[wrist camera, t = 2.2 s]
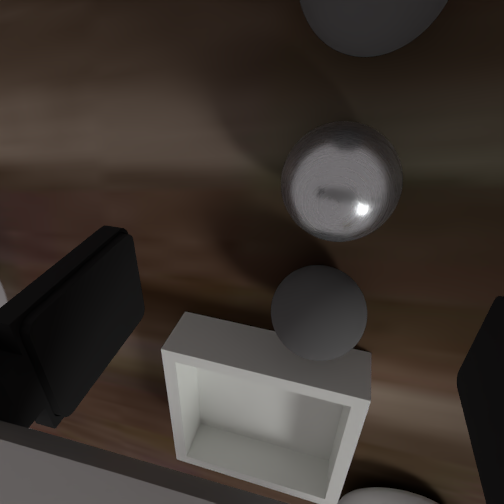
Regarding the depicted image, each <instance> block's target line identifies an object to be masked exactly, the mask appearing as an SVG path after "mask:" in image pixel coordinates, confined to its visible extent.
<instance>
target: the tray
mask: <svg viewBox="0 0 504 504" xmlns="http://www.w3.org/2000/svg"><path fill="white" fill-rule="evenodd" d="M161 353H162V360H163V367H164V374H165V381H166V388H167V395H168V402H169V408H170V415H171V422H172V429H173V436H174V443H175V450H176V457H177V459H178V460H181V461H184V462H187V463H191V464H194V465H197V466H200V467H203V468H207V469H210V470H213V471H216V472H219V473H222V474H226V475H229V476H232V477H235V478H238V479H241V480H245V481H248V482H251V483H254V484H257V485H261V486H264V487H267V488H270V489H273V490H276V491H280V492H283V493H286V494H289V495H292V496H296V497H299V498H302V499H305V500H308V501H311V502H315V503H318V504H337V503H338V500H339V497H340V494H341V491H342V488H343V485H344V482H345V479H346V476H347V473H348V470H349V467H350V464H351V461H352V457H353V454H354V451H355V448H356V445H357V442H358V439H359V436H360V433H361V430H362V427H363V424H364V421H365V418H366V414H367V411H368V408H369V405H370V402H371V353H370V352H366V351H361V350H357V349H351V350H350V351H349V352H347V353H346V354H344V355H343V356H341V357H338V358H335V359H332V360H327V361H314V360H309V359H305V358H302V357H300V356H298V355H296V354H294V353H293V352H291V351H290V350H289V349H288V348H287V347H286V346H285V345H284V344H283V343H282V342H281V341H280V339H279V338H278V336H277V334H276V332H275V331H271V330H266V329H262V328H257V327H253V326H248V325H244V324H239V323H235V322H230V321H226V320H221V319H217V318H212V317H208V316H203V315H199V314H194V313H190V312H185V313H184V314H183V316H182V317H181V319H180V320H179V322H178V323H177V325H176V326H175V328H174V329H173V331H172V333H171V334H170V336H169V337H168V339H167V340H166V342H165V343H164V345H163V346H162V348H161Z"/></svg>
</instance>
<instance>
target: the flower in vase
mask: <svg viewBox="0 0 504 504" xmlns="http://www.w3.org/2000/svg"><path fill="white" fill-rule="evenodd" d="M337 504H439V503H437V502H435V501H433V500H431V499H429V498H426V497H424V496H421V495H418V494H416V493H412V492H408V491H404V490H399V489H393V488H383V487H370V488H362V489H357V490H354V491H351V492H349V493H347V494H345V495H344V496H343V497H342V498H341V499H340V500H339V501H338V503H337Z"/></svg>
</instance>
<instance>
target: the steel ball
mask: <svg viewBox="0 0 504 504" xmlns="http://www.w3.org/2000/svg"><path fill="white" fill-rule="evenodd" d="M402 186H403V172H402V166H401V162H400V159H399V157H398V155H397V152H396V150H395V149H394V147H393V145H392V144H391V143H390V142H389V140H388V139H387V138H386V137H385V136H383V135H382V134H381V133H380V132H378V131H377V130H375V129H374V128H372V127H369V126H367V125H365V124H362V123H358V122H352V121H337V122H331V123H327V124H324V125H321V126H319V127H317V128H315V129H313V130H311V131H310V132H308V133H307V134H305V135H304V136H303V137H302V138H301V139H300V140H299V141H298V142H297V143H296V144H295V145H294V147H293V148H292V149H291V151H290V153H289V154H288V156H287V159H286V161H285V163H284V166H283V170H282V175H281V193H282V198H283V201H284V204H285V207H286V209H287V211H288V213H289V215H290V216H291V218H292V219H293V220H294V221H295V222H296V224H297V225H298V226H299V227H301V228H302V229H303V230H304V231H306V232H307V233H309V234H310V235H313V236H315V237H317V238H320V239H323V240H327V241H334V242H345V241H351V240H356V239H359V238H362V237H364V236H366V235H368V234H370V233H372V232H374V231H375V230H377V229H378V228H379V227H380V226H381V225H383V224H384V223H385V222H386V220H387V219H388V218H389V217H390V216H391V214H392V213H393V211H394V210H395V208H396V206H397V204H398V201H399V198H400V196H401V192H402Z"/></svg>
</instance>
